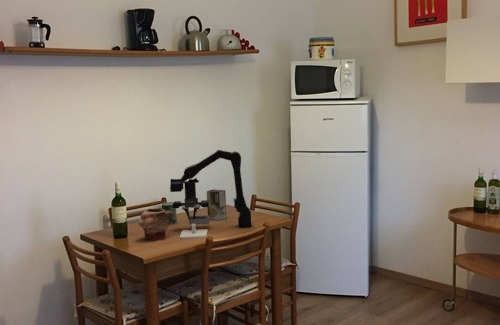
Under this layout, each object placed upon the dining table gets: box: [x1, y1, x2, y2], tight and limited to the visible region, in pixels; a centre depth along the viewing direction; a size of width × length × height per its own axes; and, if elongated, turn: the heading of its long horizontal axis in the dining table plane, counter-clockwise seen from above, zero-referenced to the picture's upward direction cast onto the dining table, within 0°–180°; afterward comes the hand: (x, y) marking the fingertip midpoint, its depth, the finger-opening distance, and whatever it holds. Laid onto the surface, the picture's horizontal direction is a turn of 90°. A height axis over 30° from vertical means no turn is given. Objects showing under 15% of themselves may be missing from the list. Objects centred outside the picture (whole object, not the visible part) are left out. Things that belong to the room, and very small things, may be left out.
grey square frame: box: [188, 214, 211, 226], centre depth 290 cm, size 10×10×2 cm
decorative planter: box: [138, 208, 174, 241], centre depth 275 cm, size 20×12×14 cm, turn 137°
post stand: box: [179, 224, 209, 239], centre depth 277 cm, size 13×13×6 cm
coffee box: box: [206, 188, 227, 221], centre depth 311 cm, size 9×6×16 cm
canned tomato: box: [161, 201, 178, 225], centre depth 305 cm, size 8×8×11 cm
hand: (191, 220), depth 290 cm, fingers closed on grey square frame, 2 cm apart
